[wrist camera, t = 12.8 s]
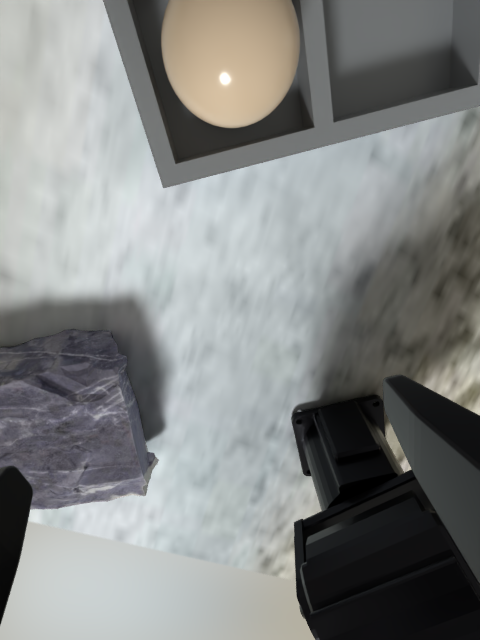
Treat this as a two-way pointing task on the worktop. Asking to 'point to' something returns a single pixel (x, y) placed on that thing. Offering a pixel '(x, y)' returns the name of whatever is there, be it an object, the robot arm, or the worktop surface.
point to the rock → (72, 420)
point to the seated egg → (230, 57)
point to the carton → (312, 80)
